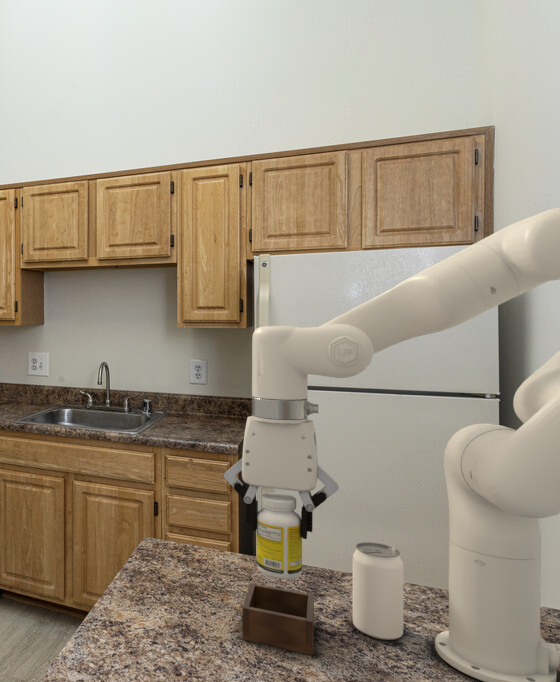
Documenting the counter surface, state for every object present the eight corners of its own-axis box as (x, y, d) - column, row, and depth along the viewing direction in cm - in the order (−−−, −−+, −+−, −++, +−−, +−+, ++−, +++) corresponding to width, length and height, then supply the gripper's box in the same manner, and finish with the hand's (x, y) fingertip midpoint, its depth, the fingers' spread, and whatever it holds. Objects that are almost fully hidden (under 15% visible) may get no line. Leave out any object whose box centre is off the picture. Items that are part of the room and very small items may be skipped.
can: (411, 643, 79) (411, 559, 79) (361, 639, 80) (361, 555, 80) (392, 620, 85) (392, 542, 85) (346, 616, 87) (346, 539, 87)
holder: (313, 624, 84) (313, 594, 84) (312, 655, 76) (312, 621, 76) (250, 611, 88) (250, 582, 88) (242, 639, 80) (242, 607, 80)
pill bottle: (293, 564, 85) (293, 491, 85) (308, 581, 79) (308, 503, 79) (251, 562, 86) (251, 490, 86) (263, 580, 79) (263, 502, 79)
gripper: (345, 410, 82) (344, 533, 82) (222, 404, 89) (222, 516, 89) (346, 417, 75) (346, 551, 75) (214, 409, 82) (213, 531, 83)
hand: (278, 531), depth 82 cm, fingers closed on pill bottle, 6 cm apart
